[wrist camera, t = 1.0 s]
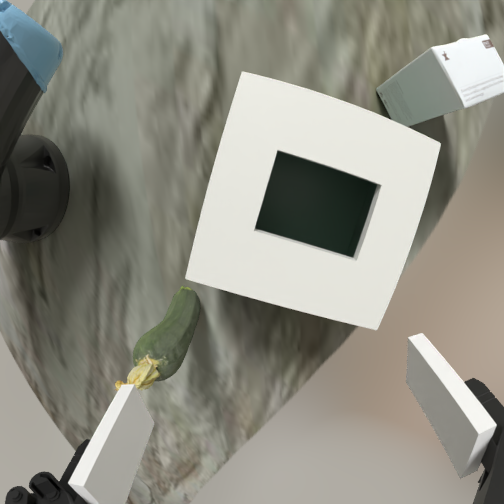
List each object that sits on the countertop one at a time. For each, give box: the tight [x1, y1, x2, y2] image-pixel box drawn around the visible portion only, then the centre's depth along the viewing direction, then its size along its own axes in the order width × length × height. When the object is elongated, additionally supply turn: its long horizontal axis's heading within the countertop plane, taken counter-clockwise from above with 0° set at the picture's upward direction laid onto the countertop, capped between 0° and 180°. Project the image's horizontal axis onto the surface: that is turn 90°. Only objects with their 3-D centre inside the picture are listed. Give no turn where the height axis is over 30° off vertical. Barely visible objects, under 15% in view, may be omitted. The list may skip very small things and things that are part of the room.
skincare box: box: [376, 35, 504, 127], centre depth 25 cm, size 8×6×15 cm
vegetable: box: [115, 286, 200, 392], centre depth 30 cm, size 4×4×20 cm
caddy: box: [185, 71, 441, 330], centre depth 29 cm, size 16×16×14 cm
